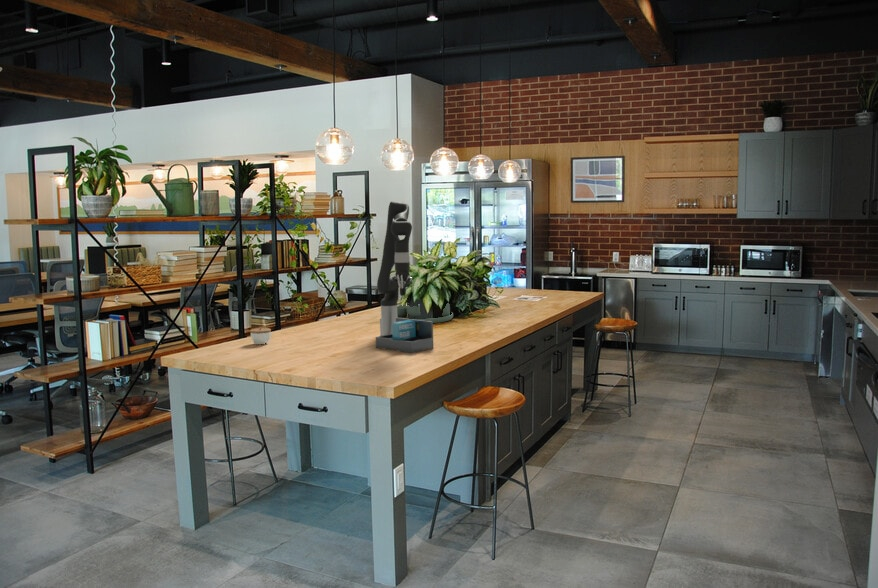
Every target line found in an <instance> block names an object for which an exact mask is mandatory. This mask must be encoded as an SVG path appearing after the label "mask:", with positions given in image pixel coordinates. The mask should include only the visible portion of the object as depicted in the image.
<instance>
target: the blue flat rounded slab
mask: <svg viewBox="0 0 878 588" xmlns="http://www.w3.org/2000/svg"><path fill="white" fill-rule="evenodd" d="M392 335H393V339H396V340H402V339H407V338H411V337H416V330H415V322H414V321H410V320H406V321H400V322H394V323H393V324H392Z"/></svg>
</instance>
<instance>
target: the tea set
mask: <svg viewBox="0 0 878 588" xmlns="http://www.w3.org/2000/svg"><path fill="white" fill-rule="evenodd" d="M401 304H402V303H401ZM401 304H397V312H398V318H404V319H409V318H408V317H407V313H408V314H409V315H410V316H412V317H414V318H415V317H418V315H419V316H420V315H421V314H420V313H421V312H420V304H418V307H417V306H413V307H410V306H409V305H407V306H406V304H407V303H404V304H405V305H403V306H402V305H401ZM450 305H451V303H450V304H449V303H447V304H446V306H445V308H444V309H443V313H442V316H443V317H438V318H426V319H413V320H423V321H432V322H433V324H437V323H439V324H440V323H445V322H448V321H451V320H452V319H453V317H454V312H451V306H450ZM450 312H451V313H452V314H451V315H450Z"/></svg>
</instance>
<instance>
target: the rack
mask: <svg viewBox="0 0 878 588" xmlns="http://www.w3.org/2000/svg"><path fill="white" fill-rule="evenodd" d="M406 320H410V321H414V322H415V330H416V337H411V338H407V339H402V340H396V339H393V335H392V334H389V335H384V336H382V335H380V336H375V348H376V349H382V350H389V351H394V352H402V353H409V354H415V353H418V352H422V351H423V352H424V351H427V350H430V349H434V323H433V322H432V321H423V320H413V319H404V318H396V322H400V321H406Z"/></svg>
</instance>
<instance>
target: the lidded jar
mask: <svg viewBox="0 0 878 588" xmlns="http://www.w3.org/2000/svg"><path fill="white" fill-rule="evenodd" d="M249 332H250V337H251V340H252V342H253V343H254V344H255V345H256V344H264V343H267V344H268V343H269V341H270V340H271V337H272V336H271V335H272V333H271V332H272V329H271V328H268V327H262V326H259V327H258V328H252V329H250V330H249ZM264 345H265V344H264Z"/></svg>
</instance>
